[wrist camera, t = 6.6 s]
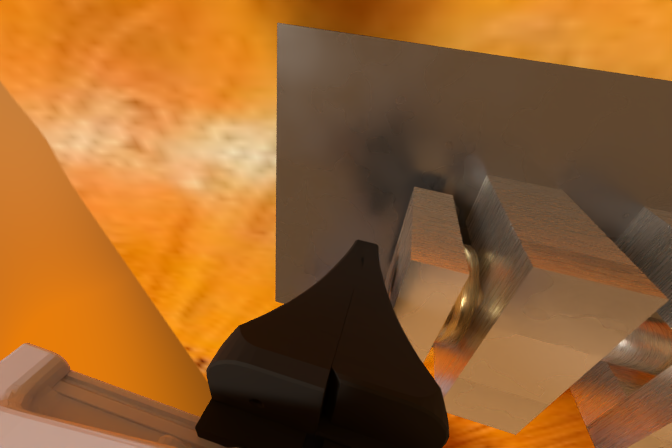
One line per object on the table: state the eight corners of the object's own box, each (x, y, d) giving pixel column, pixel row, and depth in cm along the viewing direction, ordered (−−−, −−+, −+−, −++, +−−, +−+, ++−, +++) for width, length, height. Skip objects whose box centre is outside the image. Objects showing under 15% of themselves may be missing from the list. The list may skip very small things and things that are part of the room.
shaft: (661, 360, 14) (765, 497, 9) (383, 286, 15) (370, 373, 11) (787, 267, 10) (1032, 416, 6) (414, 186, 12) (410, 259, 8)
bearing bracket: (578, 375, 18) (653, 534, 12) (281, 291, 21) (226, 387, 15) (875, 111, 9) (1677, 230, 3) (287, 24, 12) (159, 5, 6)
